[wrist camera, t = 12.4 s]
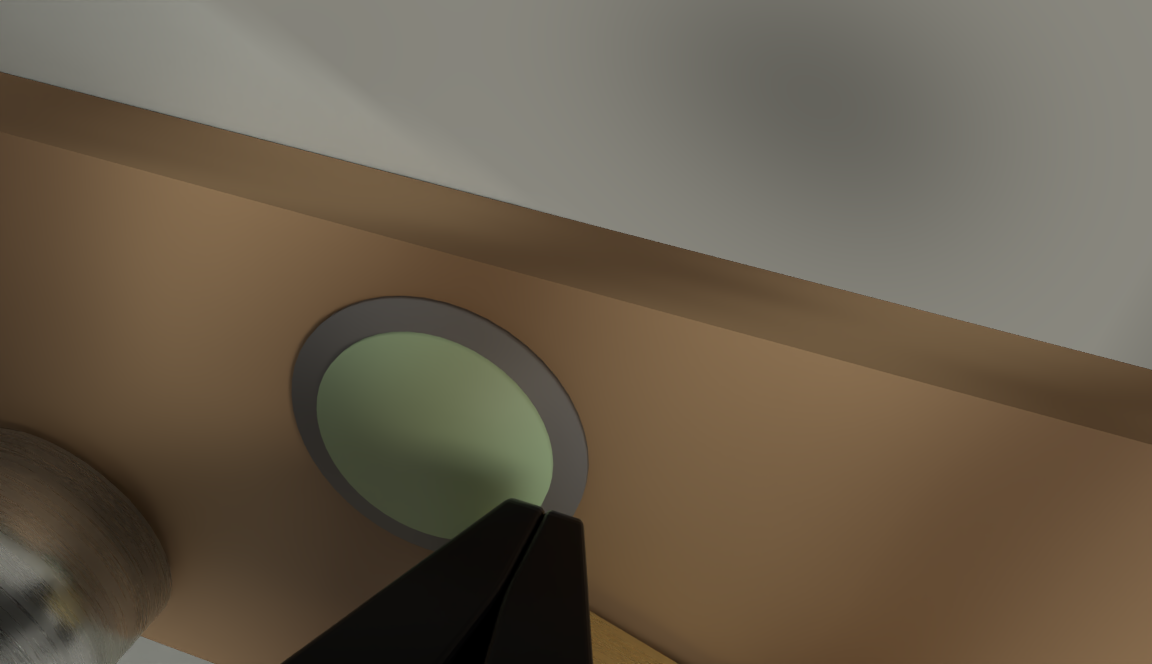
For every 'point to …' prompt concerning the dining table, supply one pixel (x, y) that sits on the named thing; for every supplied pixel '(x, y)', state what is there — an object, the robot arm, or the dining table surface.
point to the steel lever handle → (71, 559)
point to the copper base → (545, 411)
